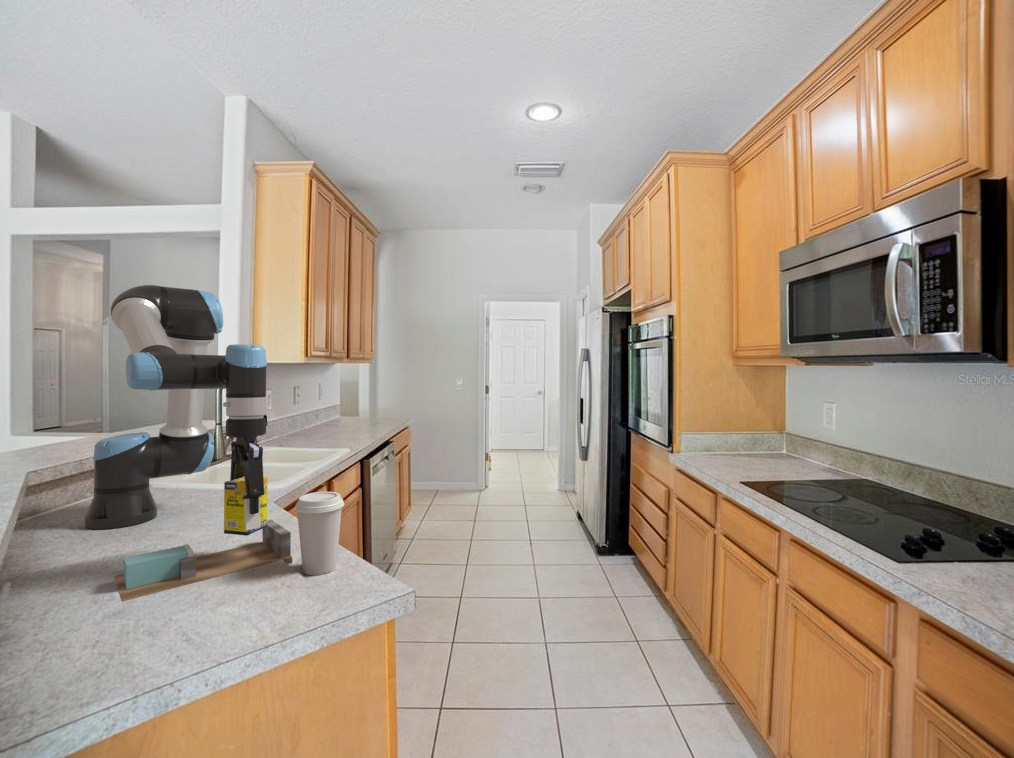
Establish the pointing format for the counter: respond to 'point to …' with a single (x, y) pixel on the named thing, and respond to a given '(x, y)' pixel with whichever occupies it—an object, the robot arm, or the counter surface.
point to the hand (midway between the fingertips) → (246, 523)
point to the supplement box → (240, 507)
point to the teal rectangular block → (154, 566)
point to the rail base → (220, 563)
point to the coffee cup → (319, 530)
